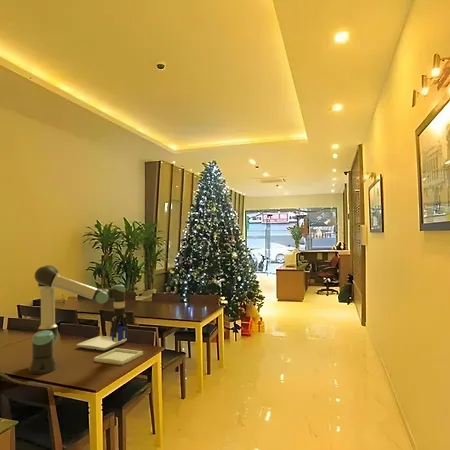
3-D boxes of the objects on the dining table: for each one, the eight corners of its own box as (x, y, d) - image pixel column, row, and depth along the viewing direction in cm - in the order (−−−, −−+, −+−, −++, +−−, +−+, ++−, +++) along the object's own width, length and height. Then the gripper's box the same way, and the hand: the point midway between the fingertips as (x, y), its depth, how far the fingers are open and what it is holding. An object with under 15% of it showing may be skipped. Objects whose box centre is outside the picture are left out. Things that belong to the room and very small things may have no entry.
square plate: (75, 349, 279) (75, 343, 279) (100, 339, 305) (100, 335, 305) (104, 352, 269) (104, 347, 269) (127, 343, 295) (127, 338, 295)
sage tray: (122, 365, 241) (122, 361, 241) (94, 361, 249) (94, 357, 249) (142, 354, 262) (142, 351, 262) (116, 351, 271) (116, 348, 271)
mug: (124, 343, 251) (124, 328, 252) (108, 342, 254) (108, 327, 254) (130, 339, 259) (130, 325, 260) (114, 339, 262) (114, 324, 262)
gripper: (114, 310, 246) (114, 345, 246) (132, 305, 265) (132, 337, 264) (105, 309, 249) (105, 344, 248) (123, 304, 268) (123, 336, 267)
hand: (119, 340), depth 256 cm, fingers closed on mug, 7 cm apart
